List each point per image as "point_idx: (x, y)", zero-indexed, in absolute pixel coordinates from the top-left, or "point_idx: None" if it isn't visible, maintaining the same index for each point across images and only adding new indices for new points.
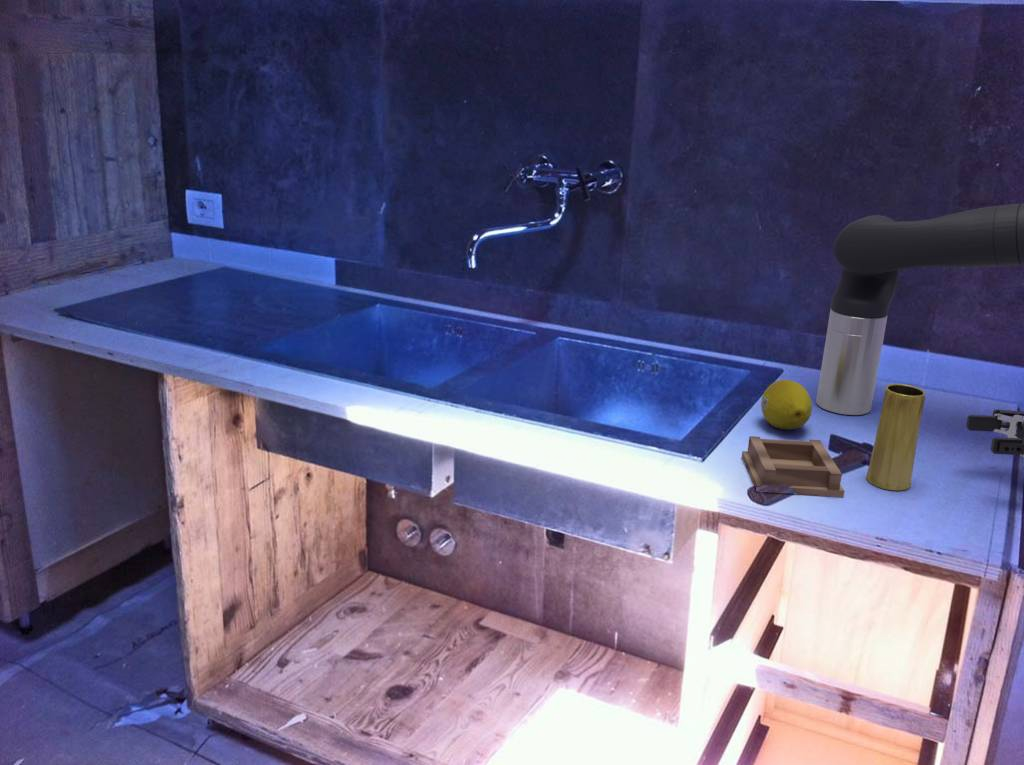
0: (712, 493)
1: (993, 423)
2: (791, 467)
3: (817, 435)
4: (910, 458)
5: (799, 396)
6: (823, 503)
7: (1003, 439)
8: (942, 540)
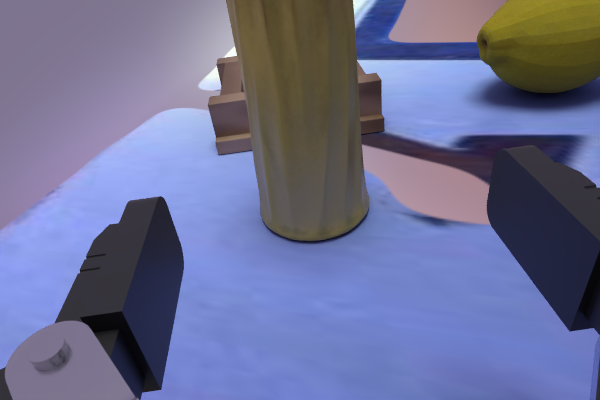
0: (218, 73)
1: (579, 276)
2: (230, 71)
3: (546, 121)
4: (262, 152)
5: (520, 5)
6: (193, 139)
7: (121, 222)
8: (5, 270)
